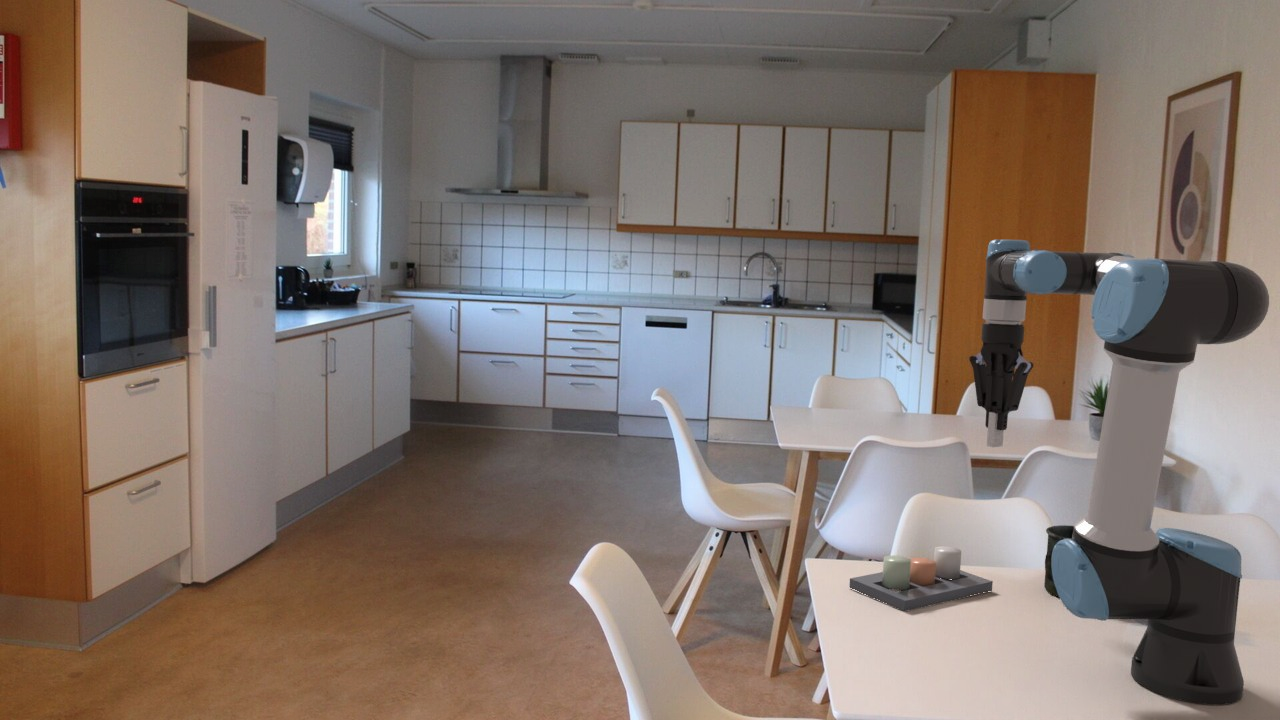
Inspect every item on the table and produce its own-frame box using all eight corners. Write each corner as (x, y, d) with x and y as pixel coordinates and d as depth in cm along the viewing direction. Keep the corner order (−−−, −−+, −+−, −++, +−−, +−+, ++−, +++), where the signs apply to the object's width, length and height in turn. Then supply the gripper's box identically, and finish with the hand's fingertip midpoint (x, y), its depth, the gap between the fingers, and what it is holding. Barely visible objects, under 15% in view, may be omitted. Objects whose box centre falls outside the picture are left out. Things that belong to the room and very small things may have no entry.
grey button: (965, 576, 199) (966, 551, 198) (947, 580, 196) (949, 555, 196) (945, 569, 203) (946, 544, 203) (927, 572, 200) (929, 548, 200)
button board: (991, 591, 197) (992, 581, 197) (904, 611, 184) (904, 600, 184) (935, 571, 208) (936, 561, 208) (849, 588, 196) (849, 578, 195)
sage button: (915, 587, 191) (916, 561, 191) (896, 591, 189) (897, 564, 188) (895, 579, 196) (896, 554, 195) (876, 583, 193) (878, 557, 192)
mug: (1114, 596, 196) (1119, 535, 195) (1072, 610, 188) (1077, 546, 187) (1062, 580, 205) (1067, 522, 204) (1019, 593, 197) (1024, 532, 195)
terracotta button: (940, 588, 195) (941, 563, 195) (922, 592, 193) (923, 566, 192) (920, 581, 200) (921, 556, 199) (902, 584, 197) (903, 559, 196)
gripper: (1046, 324, 188) (1036, 450, 191) (988, 319, 199) (979, 438, 202) (1020, 325, 184) (1010, 453, 187) (962, 319, 195) (954, 441, 197)
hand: (994, 445), depth 194 cm, fingers closed
